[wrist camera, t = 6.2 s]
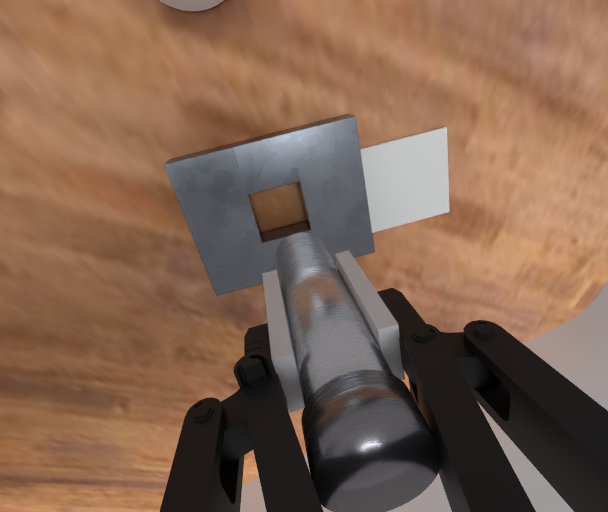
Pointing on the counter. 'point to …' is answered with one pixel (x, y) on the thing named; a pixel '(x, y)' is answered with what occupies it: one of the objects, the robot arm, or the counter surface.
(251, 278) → the plate
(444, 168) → the pad
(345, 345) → the key peg
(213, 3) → the beverage can
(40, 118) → the counter surface
